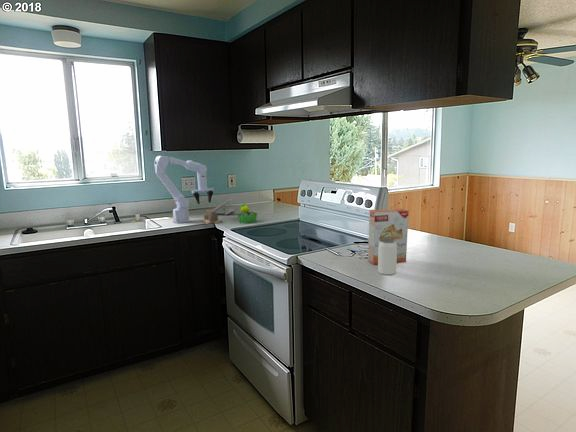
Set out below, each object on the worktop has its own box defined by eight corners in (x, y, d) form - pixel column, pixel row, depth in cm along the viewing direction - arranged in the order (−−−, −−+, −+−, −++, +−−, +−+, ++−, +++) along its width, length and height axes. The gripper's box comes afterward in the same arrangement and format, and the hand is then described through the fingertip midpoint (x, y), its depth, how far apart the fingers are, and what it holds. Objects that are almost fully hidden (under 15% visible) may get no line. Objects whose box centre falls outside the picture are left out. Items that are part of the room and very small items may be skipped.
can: (398, 275, 136) (399, 242, 133) (379, 275, 136) (380, 242, 134) (393, 269, 142) (394, 238, 140) (376, 269, 142) (377, 238, 140)
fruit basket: (245, 224, 232) (244, 205, 230) (235, 222, 238) (234, 204, 236) (258, 221, 241) (258, 203, 238) (248, 219, 246) (248, 202, 244)
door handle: (212, 223, 265) (234, 209, 260) (205, 213, 265) (228, 199, 259) (221, 218, 282) (242, 205, 277) (215, 209, 282) (236, 195, 276)
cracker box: (373, 265, 148) (374, 212, 144) (367, 260, 153) (368, 209, 150) (407, 262, 150) (409, 210, 146) (400, 258, 156) (401, 207, 152)
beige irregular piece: (207, 224, 234) (206, 217, 234) (200, 221, 244) (199, 215, 243) (222, 222, 240) (221, 215, 239) (214, 219, 250) (214, 213, 249)
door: (212, 221, 237) (211, 212, 236) (206, 219, 245) (205, 209, 244) (216, 220, 238) (215, 211, 237) (209, 218, 246) (209, 209, 245)
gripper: (193, 184, 240) (195, 205, 243) (215, 181, 248) (216, 202, 251) (189, 183, 246) (191, 204, 249) (211, 181, 254) (212, 201, 257)
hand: (204, 203), depth 250 cm, fingers open, 7 cm apart
